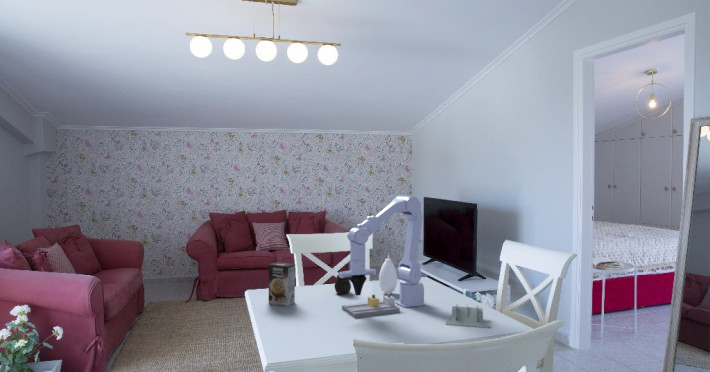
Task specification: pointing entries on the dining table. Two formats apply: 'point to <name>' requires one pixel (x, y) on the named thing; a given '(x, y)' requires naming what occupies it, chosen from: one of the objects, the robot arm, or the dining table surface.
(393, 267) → the white air blower bulb
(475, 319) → the metal bracket
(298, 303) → the dining table surface
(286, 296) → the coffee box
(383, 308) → the gauge plate
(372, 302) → the slider
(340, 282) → the mate gourd
